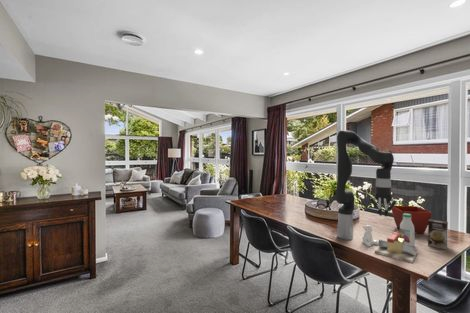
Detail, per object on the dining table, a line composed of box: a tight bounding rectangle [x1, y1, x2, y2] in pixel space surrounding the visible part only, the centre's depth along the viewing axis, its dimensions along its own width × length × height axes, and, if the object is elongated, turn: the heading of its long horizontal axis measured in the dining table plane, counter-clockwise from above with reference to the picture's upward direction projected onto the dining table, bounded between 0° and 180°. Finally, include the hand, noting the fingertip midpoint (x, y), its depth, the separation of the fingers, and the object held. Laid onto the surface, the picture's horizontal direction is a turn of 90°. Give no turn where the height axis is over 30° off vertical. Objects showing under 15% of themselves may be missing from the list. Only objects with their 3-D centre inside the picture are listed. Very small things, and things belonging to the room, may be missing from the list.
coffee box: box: [427, 218, 449, 250], centre depth 146 cm, size 9×6×16 cm
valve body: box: [377, 237, 416, 256], centre depth 136 cm, size 17×7×7 cm, turn 44°
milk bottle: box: [399, 213, 416, 248], centre depth 148 cm, size 8×8×20 cm
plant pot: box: [391, 205, 432, 234], centre depth 176 cm, size 19×19×17 cm
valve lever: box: [386, 231, 400, 243], centre depth 132 cm, size 15×4×3 cm, turn 134°
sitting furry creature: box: [362, 224, 379, 247], centre depth 151 cm, size 10×9×12 cm
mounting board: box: [374, 246, 419, 264], centre depth 136 cm, size 18×16×2 cm
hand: (383, 215), depth 134 cm, fingers closed
